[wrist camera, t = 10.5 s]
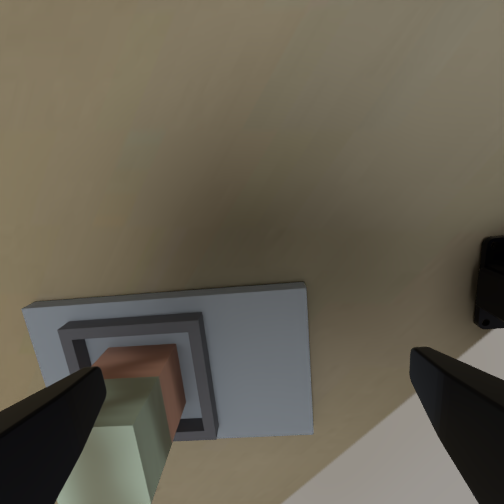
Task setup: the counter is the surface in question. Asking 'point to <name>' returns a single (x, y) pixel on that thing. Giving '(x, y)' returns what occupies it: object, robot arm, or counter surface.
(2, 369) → the counter surface
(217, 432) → the nest board
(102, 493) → the brick stack
